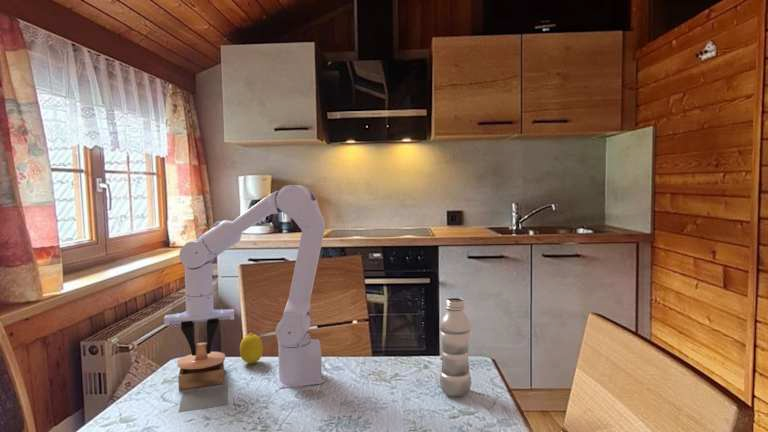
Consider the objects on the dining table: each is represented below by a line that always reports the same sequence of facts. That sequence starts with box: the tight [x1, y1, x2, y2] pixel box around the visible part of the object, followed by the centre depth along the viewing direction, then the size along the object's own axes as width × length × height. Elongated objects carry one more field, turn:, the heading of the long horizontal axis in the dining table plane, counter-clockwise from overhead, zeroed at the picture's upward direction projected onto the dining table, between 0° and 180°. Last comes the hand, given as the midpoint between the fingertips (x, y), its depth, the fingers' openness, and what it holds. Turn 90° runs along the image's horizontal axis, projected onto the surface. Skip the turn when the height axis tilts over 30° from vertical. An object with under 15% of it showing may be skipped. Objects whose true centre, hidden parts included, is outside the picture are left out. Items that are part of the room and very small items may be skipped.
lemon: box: [239, 332, 264, 365], centre depth 113 cm, size 6×6×8 cm
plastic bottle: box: [439, 297, 472, 398], centre depth 96 cm, size 6×7×20 cm
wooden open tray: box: [177, 360, 225, 391], centre depth 104 cm, size 9×9×4 cm
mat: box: [178, 385, 229, 413], centre depth 95 cm, size 9×9×1 cm
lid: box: [177, 342, 226, 369], centre depth 104 cm, size 10×10×4 cm
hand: (201, 353), depth 104 cm, fingers closed on lid, 2 cm apart
